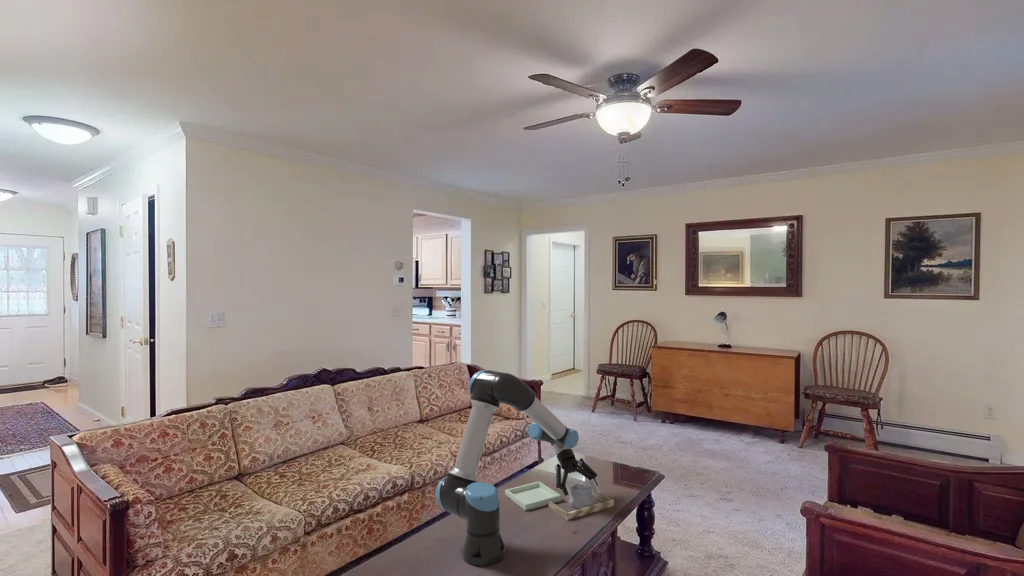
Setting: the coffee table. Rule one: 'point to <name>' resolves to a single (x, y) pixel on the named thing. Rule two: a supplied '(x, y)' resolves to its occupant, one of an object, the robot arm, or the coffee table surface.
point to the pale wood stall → (583, 511)
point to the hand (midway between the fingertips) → (585, 498)
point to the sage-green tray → (532, 495)
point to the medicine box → (581, 496)
